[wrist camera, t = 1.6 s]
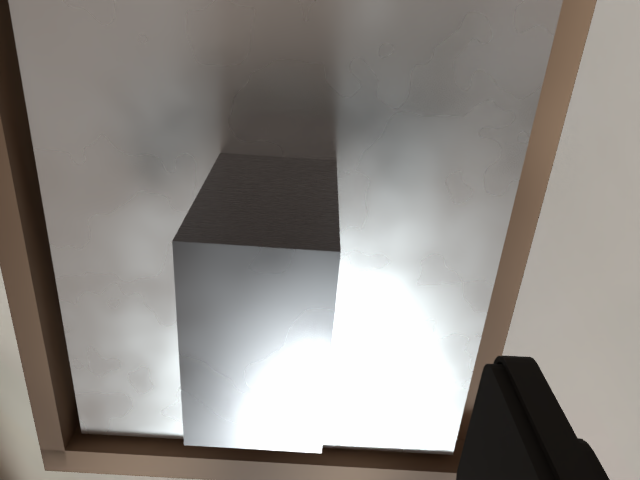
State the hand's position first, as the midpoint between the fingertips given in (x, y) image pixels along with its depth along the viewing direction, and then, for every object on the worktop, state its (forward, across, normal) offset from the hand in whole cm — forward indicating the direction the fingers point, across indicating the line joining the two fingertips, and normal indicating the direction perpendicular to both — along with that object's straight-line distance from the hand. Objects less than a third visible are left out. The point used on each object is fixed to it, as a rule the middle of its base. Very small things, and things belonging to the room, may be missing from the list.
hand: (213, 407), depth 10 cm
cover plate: (+7, -1, 0) cm, 8 cm away
